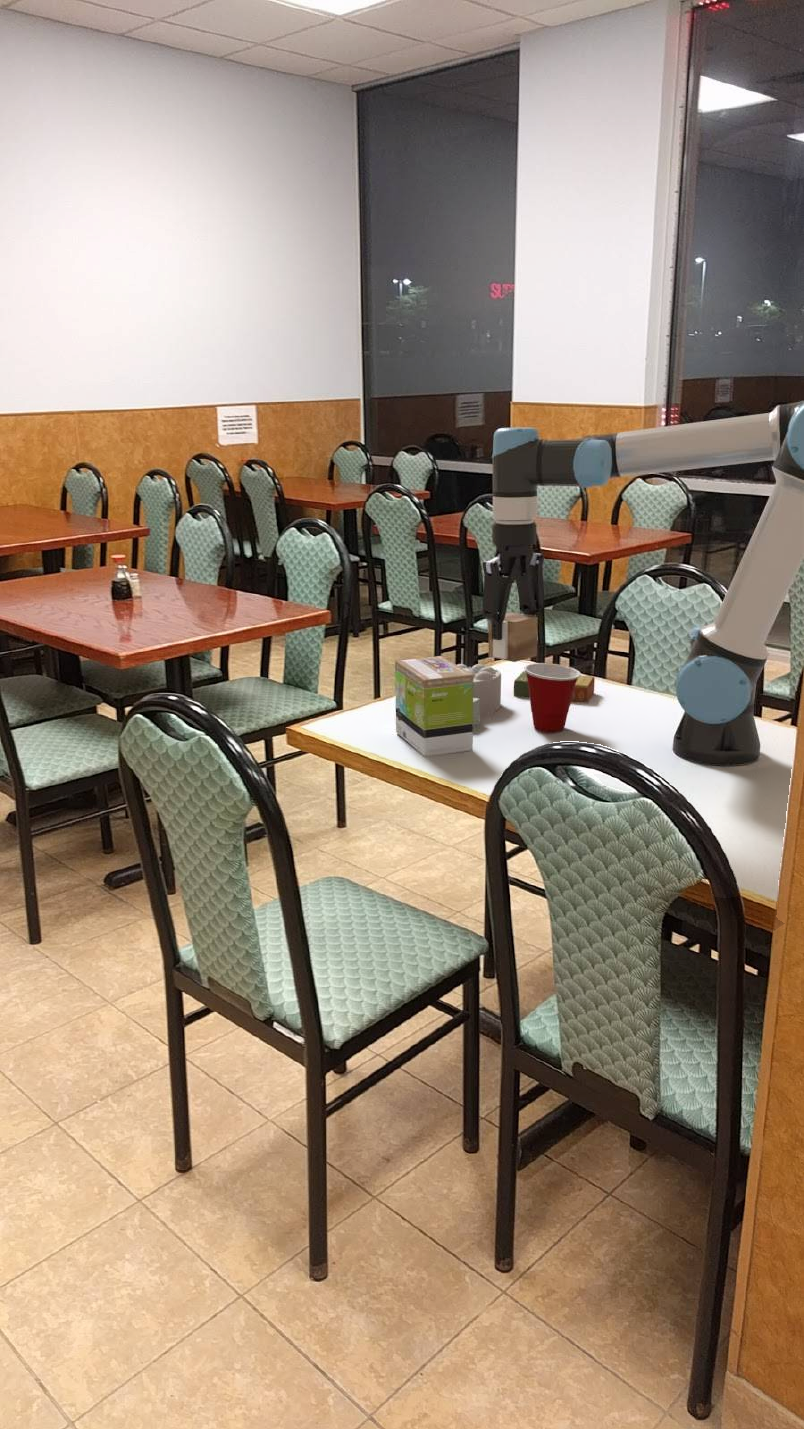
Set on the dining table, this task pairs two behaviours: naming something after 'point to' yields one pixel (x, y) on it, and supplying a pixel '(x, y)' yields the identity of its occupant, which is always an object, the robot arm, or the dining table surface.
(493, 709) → the lumpy-topped squat cylinder
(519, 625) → the brown box
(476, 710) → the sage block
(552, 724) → the plastic cup
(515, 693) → the carton
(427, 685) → the tea box
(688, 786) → the dining table surface
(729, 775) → the dining table surface
